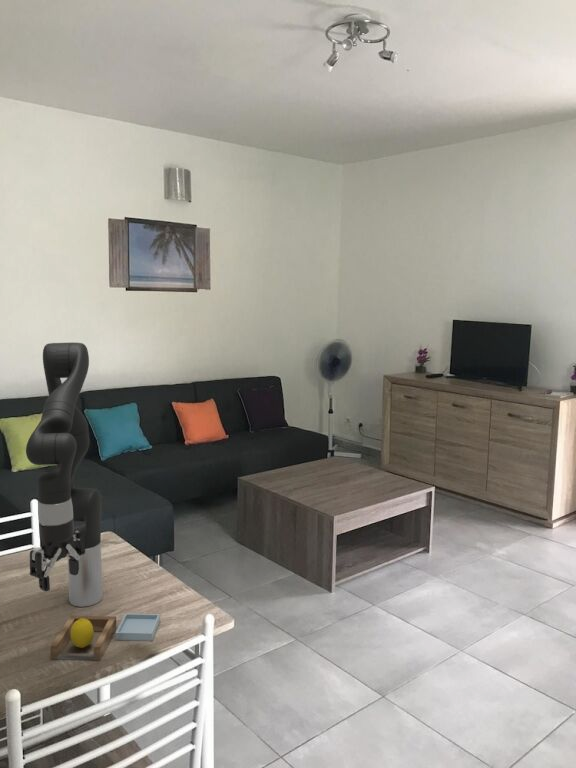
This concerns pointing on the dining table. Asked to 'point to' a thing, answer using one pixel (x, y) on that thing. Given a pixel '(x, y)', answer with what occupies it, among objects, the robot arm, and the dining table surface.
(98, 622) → the wooden letter tray
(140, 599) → the dining table surface
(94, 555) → the robot arm
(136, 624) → the dish
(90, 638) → the lemon
